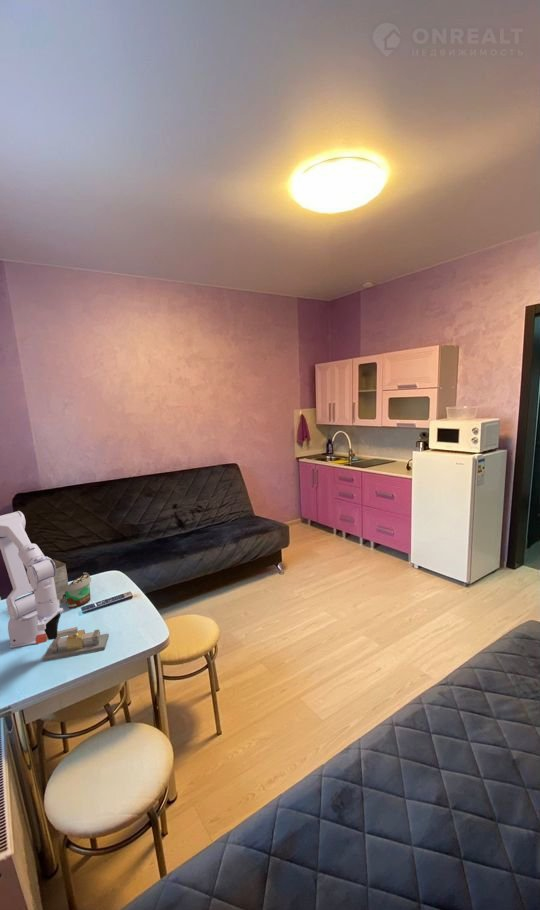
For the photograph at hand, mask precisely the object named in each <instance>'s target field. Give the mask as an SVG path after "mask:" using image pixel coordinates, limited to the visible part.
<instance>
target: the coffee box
mask: <svg viewBox="0 0 540 910" xmlns="http://www.w3.org/2000/svg"><path fill="white" fill-rule="evenodd" d="M52 560H53V562H54V564H55V567H56V575H55V576H53V577H54V583H55V589H56V595H57V600H59V603H60V605H59V606H61V605H64V604H65V603H68V602H67V598H66V594H65V591H63V588H64V586H68V585H69V580H68V573H67V566H66V563H65V562H62V561H60V560H57V559H55V558H54V559H52Z"/></svg>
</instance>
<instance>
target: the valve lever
mask: <svg viewBox="0 0 540 910" xmlns="http://www.w3.org/2000/svg"><path fill="white" fill-rule="evenodd" d="M78 631H79V630H78V626H75V627H74V626H73V627H70V628H67V629H63V630H57V638H63V637H68V635H72V634H73V636H75V635H77V634H78ZM35 640H36V643H35V644H36V645H38V644H42V643H47V641H50V640H49V639H48V637H47V634H46V633H45V634H40V635H37V636H36V639H35Z"/></svg>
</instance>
